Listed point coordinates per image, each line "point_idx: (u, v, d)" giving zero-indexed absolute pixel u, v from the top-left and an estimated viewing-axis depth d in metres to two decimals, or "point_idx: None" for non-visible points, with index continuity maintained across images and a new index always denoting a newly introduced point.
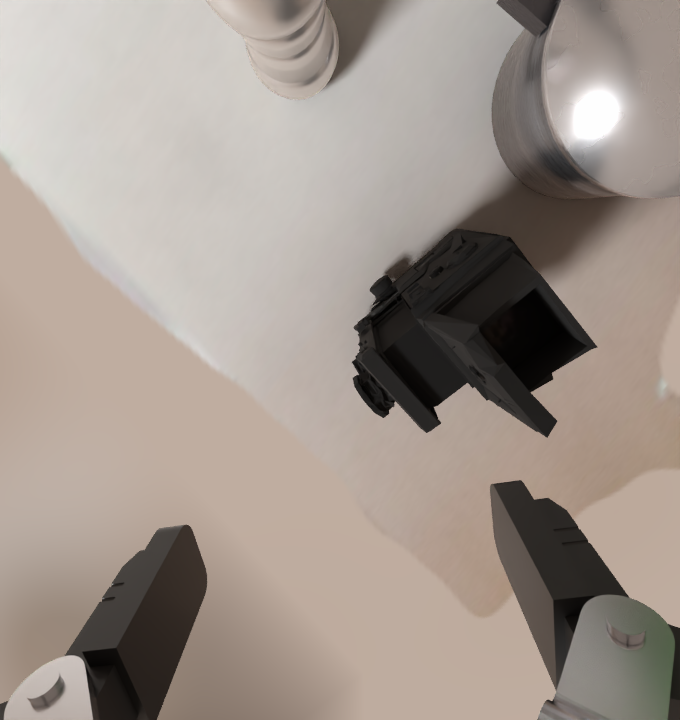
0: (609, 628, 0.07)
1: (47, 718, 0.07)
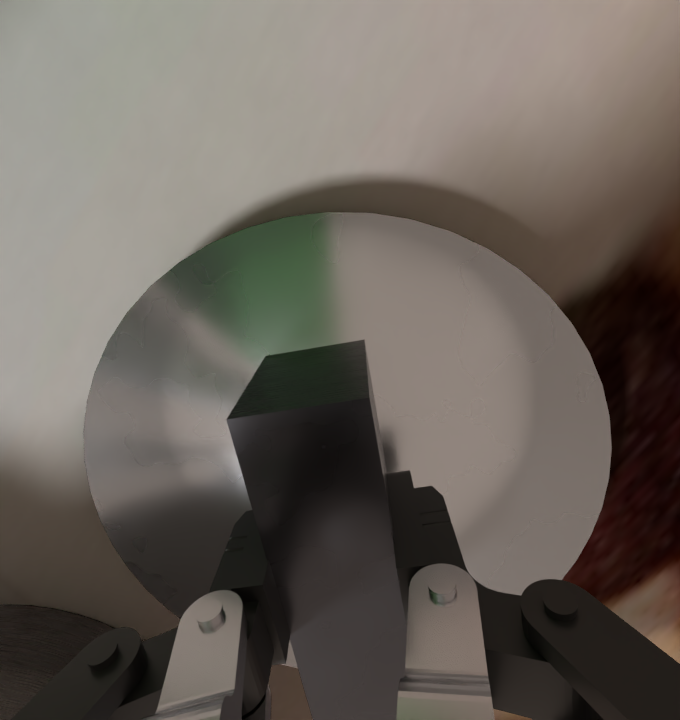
0: (428, 589, 0.08)
1: (205, 645, 0.08)
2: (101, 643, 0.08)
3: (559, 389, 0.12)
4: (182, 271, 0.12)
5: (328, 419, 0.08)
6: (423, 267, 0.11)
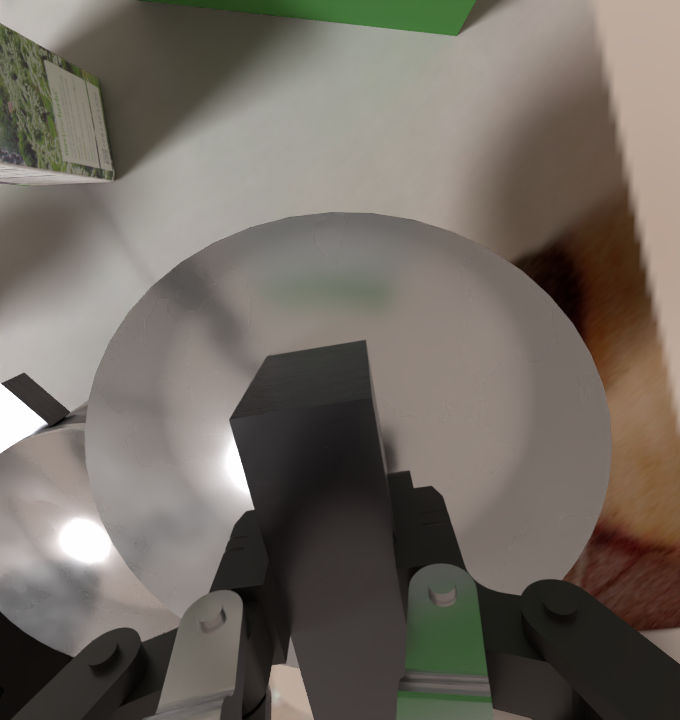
0: (427, 589, 0.08)
1: (205, 645, 0.08)
2: (101, 643, 0.08)
3: (560, 389, 0.12)
4: (184, 271, 0.12)
5: (330, 419, 0.08)
6: (425, 267, 0.11)
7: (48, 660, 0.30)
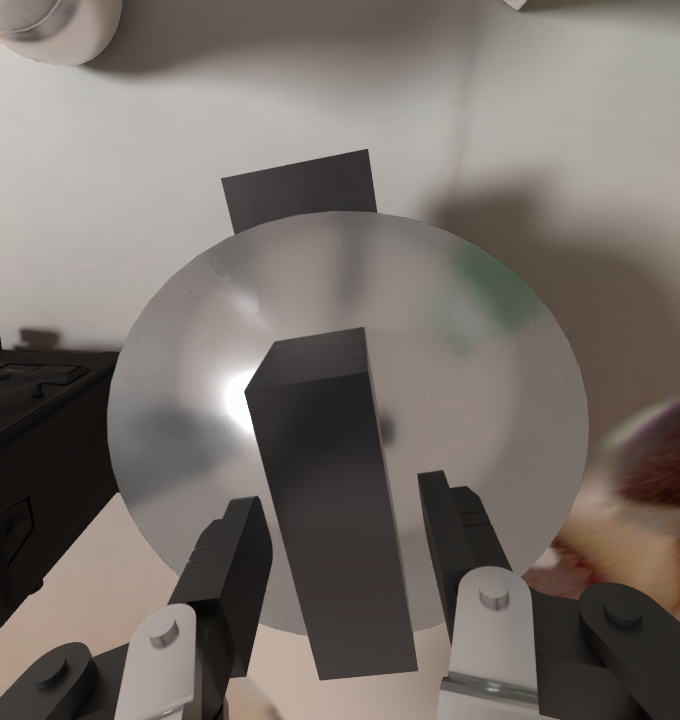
0: (479, 593, 0.08)
1: (159, 660, 0.08)
2: (48, 660, 0.08)
3: (541, 373, 0.14)
4: (200, 264, 0.13)
5: (332, 391, 0.10)
6: (417, 261, 0.13)
7: (79, 510, 0.22)
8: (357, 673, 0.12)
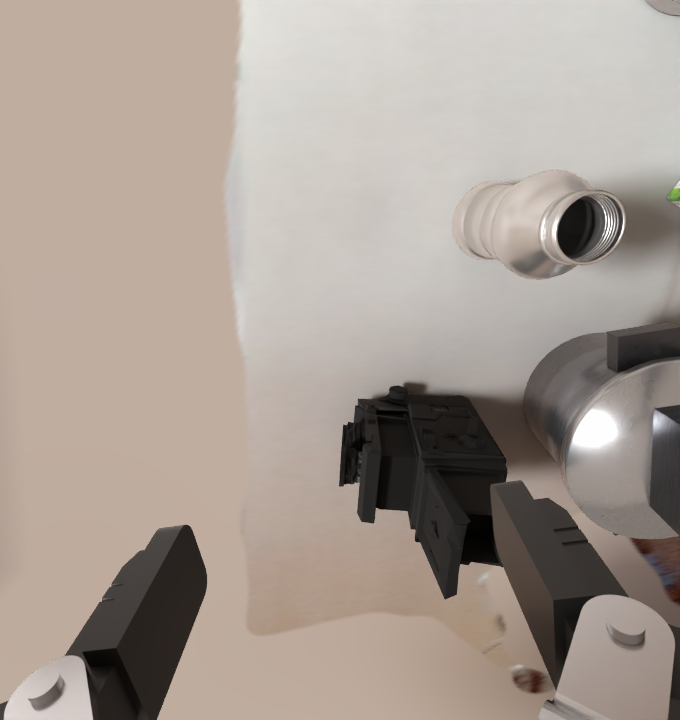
0: (609, 628, 0.07)
1: (47, 718, 0.07)
2: None
3: None
4: (633, 379, 0.33)
5: None
6: None
7: None
8: None
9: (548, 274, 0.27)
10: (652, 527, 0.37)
